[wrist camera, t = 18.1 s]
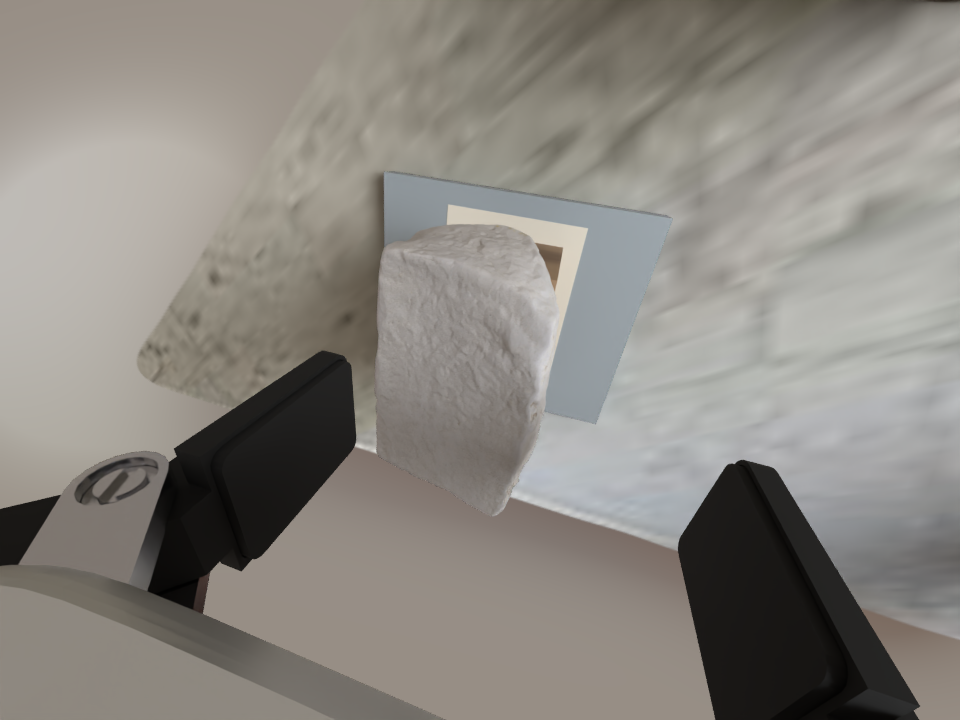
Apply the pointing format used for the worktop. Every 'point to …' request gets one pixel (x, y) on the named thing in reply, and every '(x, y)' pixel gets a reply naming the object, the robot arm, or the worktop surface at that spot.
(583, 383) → the board
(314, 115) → the worktop surface
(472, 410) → the rough stone chunk
